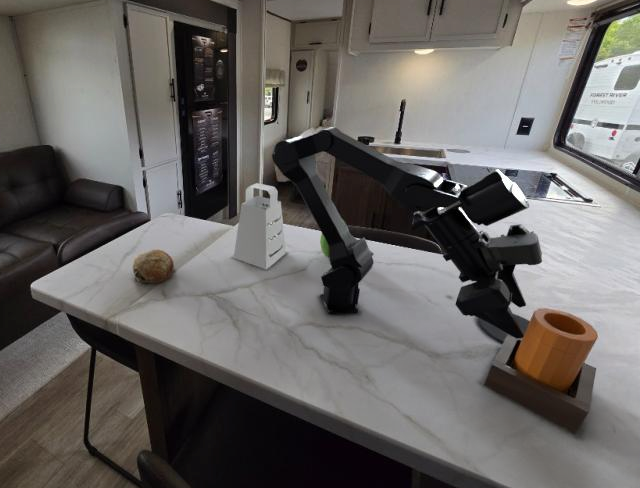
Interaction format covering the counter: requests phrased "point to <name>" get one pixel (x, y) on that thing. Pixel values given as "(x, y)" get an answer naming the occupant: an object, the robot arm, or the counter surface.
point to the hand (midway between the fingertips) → (521, 320)
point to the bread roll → (153, 266)
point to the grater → (260, 229)
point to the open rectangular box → (542, 389)
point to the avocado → (325, 245)
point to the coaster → (500, 334)
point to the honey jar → (554, 348)
